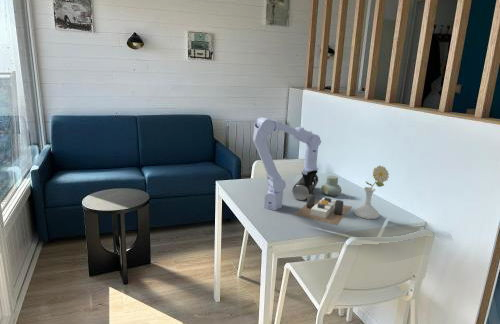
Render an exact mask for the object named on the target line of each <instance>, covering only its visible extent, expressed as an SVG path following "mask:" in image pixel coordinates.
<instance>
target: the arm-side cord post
mask: <svg viewBox="0 0 500 324" xmlns="http://www.w3.org/2000/svg"><path fill="white" fill-rule="evenodd" d="M315 199H316V195H315V194H313V193H311V194H309V195H308V196H307V200H306V204H307V208H309V209H311V208H312V207H313V206H314V203H315Z"/></svg>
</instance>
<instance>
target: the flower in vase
mask: <svg viewBox="0 0 500 324" xmlns="http://www.w3.org/2000/svg"><path fill="white" fill-rule="evenodd" d="M389 175H390V174H389V170H387V168H386V167H385V166H383V165H377V166H375V167H374V169H373V171H372V177H373V179H374V181H375V182H374V183H373V184H372V183H369V182H368V181H365V183H366V184H367V185H369V186H365V187H363V189H364V190H365V201H364V203H363V204H361V205H359V206H358V207H356V208H354V210H353V213H354V215H355V216H357V217H359V218H361V219H365V220H375V219H378V218H379V217H380V213H379V211H378V210H377V209H376V208H375V207H374V206H373V205H372V203H371V201H372V196H373V193H375V191H376V188H374V185H376V187H378V188H381V187H383V186H385V184H384V183H385V182H386V181H389Z"/></svg>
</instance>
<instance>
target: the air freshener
mask: <svg viewBox="0 0 500 324" xmlns="http://www.w3.org/2000/svg"><path fill="white" fill-rule="evenodd" d="M338 183H339V177H338V176H337V175H336V176H335V175H327V177H326V183H323V184H322V185H321V188H320V189H321V192H322V193H323V194H324V195H326V196H329V197H333V196H334V197H336V196H338V195H340V194H341V193H342V187H341V186H340V185H339V184H338Z"/></svg>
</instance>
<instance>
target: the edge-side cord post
mask: <svg viewBox="0 0 500 324" xmlns="http://www.w3.org/2000/svg"><path fill="white" fill-rule="evenodd" d="M335 200H336V199H335ZM343 205H344V200H341V199H337V200H336V201H335V210H334V214H336V215H342V211H343Z"/></svg>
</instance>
